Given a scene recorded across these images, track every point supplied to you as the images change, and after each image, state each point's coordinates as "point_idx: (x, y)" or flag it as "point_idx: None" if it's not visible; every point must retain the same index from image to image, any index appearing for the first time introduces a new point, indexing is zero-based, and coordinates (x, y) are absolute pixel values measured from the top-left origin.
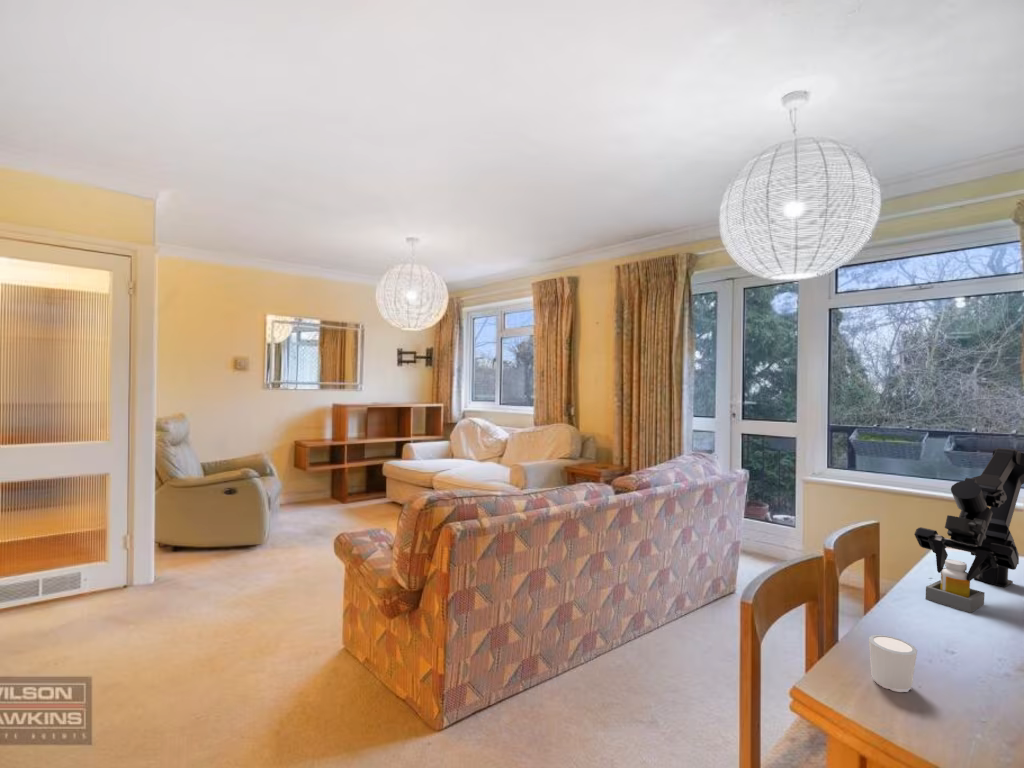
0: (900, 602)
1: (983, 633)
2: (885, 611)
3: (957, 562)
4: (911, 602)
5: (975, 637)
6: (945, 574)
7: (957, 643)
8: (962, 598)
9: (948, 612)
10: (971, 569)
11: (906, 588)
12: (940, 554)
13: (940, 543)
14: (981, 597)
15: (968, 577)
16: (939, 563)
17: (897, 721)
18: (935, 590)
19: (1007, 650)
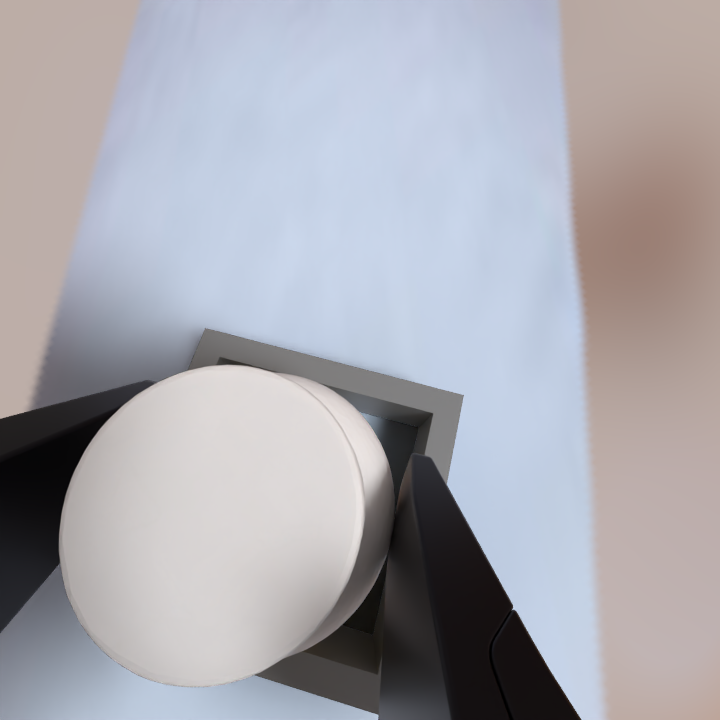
0: (527, 254)
1: (204, 139)
2: (540, 104)
3: (189, 505)
4: (488, 294)
5: (236, 84)
6: (349, 403)
7: (292, 3)
8: (250, 342)
9: (326, 283)
10: (48, 424)
11: (571, 547)
12: (464, 660)
13: None
14: None
15: (145, 381)
16: (429, 512)
17: None
18: (403, 382)
19: (149, 49)
